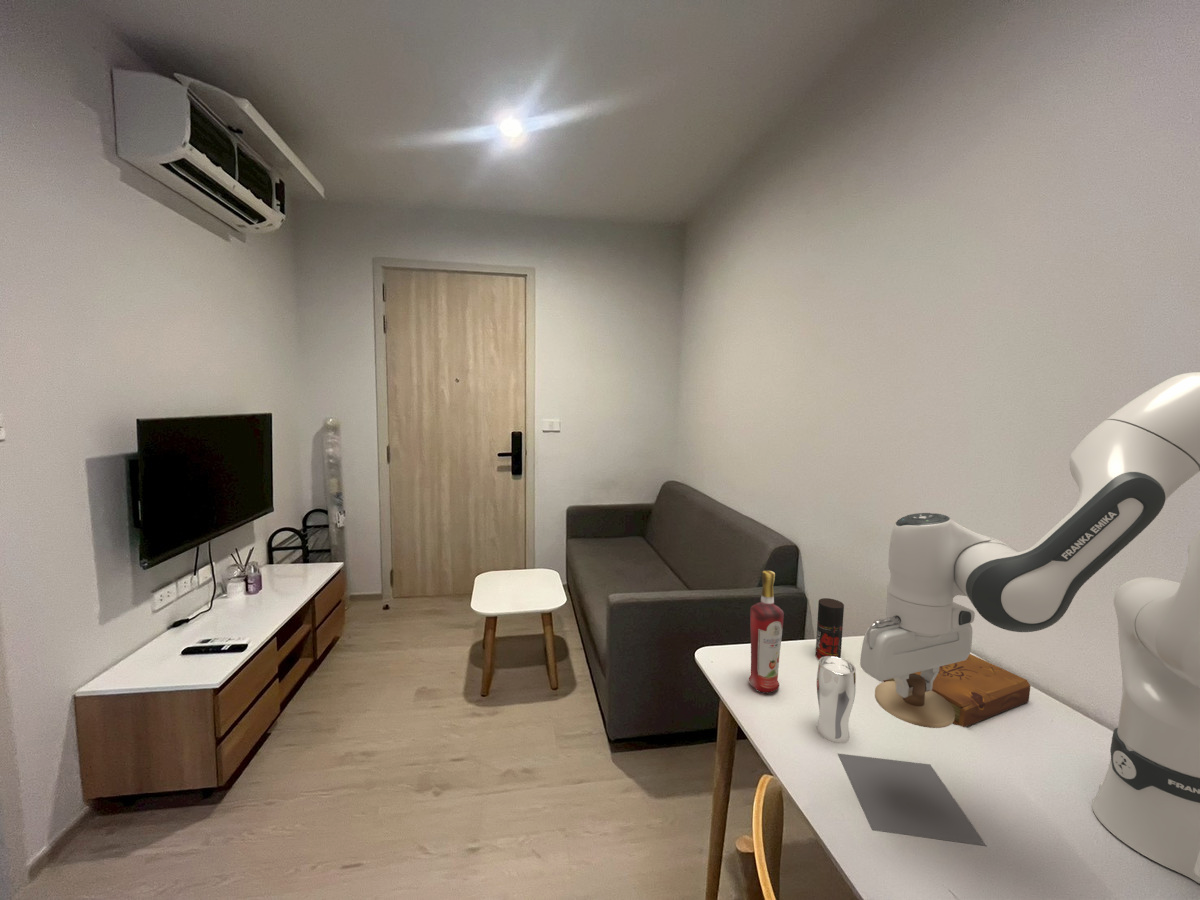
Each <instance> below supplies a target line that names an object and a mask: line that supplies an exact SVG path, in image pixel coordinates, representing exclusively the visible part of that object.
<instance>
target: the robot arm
mask: <svg viewBox="0 0 1200 900" xmlns="http://www.w3.org/2000/svg"><path fill="white" fill-rule="evenodd" d="M1069 469H1070V473H1071V475H1072V478H1073V480H1074V482H1075V483H1076V485H1077V487H1078V490H1079V496H1078V499H1077V502H1076V504H1075V506H1073V508H1072V510H1071V511H1069V512H1068V513H1067V514H1066V515H1065V516H1064V517H1063V518H1062V519H1061V520H1059V522H1057V524H1056V525H1054V526H1053V527H1052V528H1051V529H1050V530H1049V531H1048V532H1046V533H1045V534H1044V535H1043V536H1042V537H1041V538H1040V539H1039V540H1037V542H1036V543H1034V544H1033V545H1032V546H1031V547H1029V548H1027V549H1025V550H1022V551H1019V550H1017V549H1015V547H1013V546H1010V545H1009V544H1007V543H1005V542H1004V541H1002V540H1000V539H997V538H995V537H992V536H989V535H984V534H981V533H979V532H975V531H973V530H971V529H969V528H967V527H964V526H963V525H961V524H959V523H957V522H956V521H955V520H953V519H951V517H950V516H949V515H948V516H947V515H946V514H941V513H935V512H934V513H933V512H932V513H931V512H917V513H912V514H907V515H905V516H902V517H900V518H899V519H898V520H897V521H896V522H895V524H894V526H893V528H892V530H891V535H890V541H889V548H888V563H887V565H888V569H889V574H890V579H889V581H888V583H887V584H888V585H887V589H886V608H885V609H886V610H885V616H886V618H882V619H881V618H880V619H876V620H874V621H873V623H872V624H871V625H870V626H869V627H867V629H866V631H865V634H864V636H863V640H862V644H861V645H862V646H861V653H860V659H859V660H860V662H859V665H860V668H861V669H862V671H863V672H864V673H865V674H867V675H869V676H870V677H872V678H873V679H875V680H876V681H879V682H883V681H884V680H888V679H892V678H894V680H895V682H896V692H897V693H898V694H899V695H900V696H902V697H903V698H906V697H909V696H912V694H913V693H912V691H913V687H912V686H910V685H909V684H908V683H907V681H906V679H909V674H912V673H916V672H920V671H921V674H920V676H922V677H923V678H924V679H925V680H926V682H925V692H928V691H932V687H933V681H934V679H935V678H936V676H937V674H938V672H939V667H940V666H944V665H948V664H952V663H956V662H960V661H964V660H966V659H967V658H968V656H969V654H971V652H972V646H973V645H972V644H973V626H972V623H974V622H975V621H974V620H975V617H976V613H975V611H974V610H973V609H971V608H968V607H966V606H965V605H961V604H959V603H956V602H954V598H955V597H957V596H963V597H967V598H968V599H969V601H970V603H971V604H972V605H973V607H974V608H975V610H976V611H977V612H978V614H979V615H980V616H981V617H982V619H984V620H985V621H987V622H988V623H989V624H991V625H993V626H995V627H997V628H1000V629H1003V630H1005V631H1009V632H1013V633H1030V632H1031V633H1033V632H1039V631H1041V630H1044V629H1047V628H1050V627H1051V626H1054V625H1055V624H1057V622H1059V620H1061V619H1062V618H1063V617H1064V615H1065V614H1066V612H1067V611H1068V609H1069V607H1070V605H1071V604H1072V601H1073V600H1074V598H1075V596H1076V594H1077V593H1078V591H1080V589H1081V588H1082V587H1083V586H1084V584H1085V583H1087V581H1089V580H1090V579H1091V578H1092V577H1093V576H1094V575H1096V574H1097V572H1099V571H1100V570H1101V569H1103V568H1104V566H1106V565H1107V564H1108V563H1109V562H1110V561H1111V560H1112V559H1113V558H1114V557H1116V556H1117V555H1118V553H1120V552H1121V551H1122V550H1123V549H1124V548H1126V547H1127V546H1128V545H1129V544H1130V543H1131V542H1133V541H1134V539H1135V538H1137V537H1138V536H1139V535H1140V534H1141V533H1142V532H1144V530H1145V529H1146V528H1147V527H1148V526H1149V525H1150V524H1151V523H1152V522H1153V521H1155V519H1156V518H1157V516H1158V515H1159V514H1160V513H1161V512H1162V510H1163V508H1164V506H1165V503H1166V501H1167V500H1168V498H1170V497H1171V496H1172V495H1173V494H1174V493H1175V491H1177V490H1178V489H1179V488H1180V487H1181V486H1182V485H1184V484H1185V483H1187V482H1188V481H1189V480H1191V478H1193V477H1194V476H1195V475H1197V474H1198V473H1199V472H1200V371H1199V372H1198V371H1195V372H1193V371H1192V372H1185V373H1181V374H1177V375H1174V376H1171V377H1169V378H1168V379H1166V380H1164V381H1162V382H1160V383H1158V384H1157V385H1154V386H1153V387H1151V388H1150V389H1148V390H1146V391H1144V392H1142V393H1141V394H1140V395H1138V396H1137V397H1135V398H1133V399H1132V400H1131V401H1129V402H1128V403H1126V404H1125V405H1123V406H1122V407H1121V408H1119V409H1118V410H1116V411H1115V412H1114V413H1112V414H1111V415H1110V416H1108V417H1107V418H1106V419H1104V421H1102V422H1101V423H1100V424H1098V426H1095V428H1093V429H1091V431H1090V432H1089V433H1088V434H1087V435H1086V436H1084V438H1083V439H1082V440H1081V441H1080V442H1079V443H1078V445H1076V447H1075V448H1074V449H1073V451H1071V453H1070V456H1069ZM1187 546H1188V547H1187V553H1188V557H1187V558H1188V560H1187V564H1186V568H1185V571H1184V574H1183V577H1182V579H1181V581H1180V582H1178V581H1174V580H1170V579H1166V578H1161V577H1151V576H1143V577H1137V578H1133V579H1131V580H1128V581H1126V582H1124V583H1123V584H1121V585H1120V586H1119V587H1118V588H1117V590H1116V591H1115V592H1114V596H1113V606H1114V609H1115V614H1116V618H1117V628H1118V629H1117V630H1118V647H1119V656H1120V657H1119V660H1120V666H1121V667H1120V668H1121V677H1122V679H1121V680H1122V689H1121V690H1122V691H1121V699H1120V707H1119V715H1118V724H1117V727H1116V728H1114V730H1113V732H1112V737H1111V743H1110V748H1109V750H1110V752H1109V753H1110V761H1109V763H1108V768H1107V770H1106V773H1105V777H1104V779H1103V780H1102V781H1101V782H1100V784H1099V787H1098V788H1099V789H1098V792H1097V794H1096V796H1095V797H1094V798H1093V800H1092V803H1091V807H1092V811H1093V813H1094V814H1095V816H1096V818H1097V819H1098V821H1099V822H1100V823H1101V824H1102V825H1103V826H1104V827H1105V828H1106V829H1107V830H1108V831H1109V832H1111V833H1112V834H1113V835H1114V836H1115V837H1116V838H1117V839H1118V840H1120V841H1121V842H1123V843H1124V844H1126V845H1127V846H1128V847H1130V848H1131V849H1132V850H1135V851H1136V852H1137V853H1139V854H1141V855H1143V856H1145V857H1147V858H1148V859H1150V860H1152V861H1153V862H1156V863H1157V864H1160V865H1161V866H1163V867H1166V868H1168V869H1170V870H1172V871H1174V872H1177V873H1178V874H1180V875H1183V876H1184V877H1185V876H1186V877H1188V878H1189V879H1191V880H1193V881H1194V882H1196V883H1198V884H1199V885H1200V529H1199V530H1198V531H1197V533H1196V534H1195V535H1194V536H1193V538H1191V540H1190V542H1189V543H1188V545H1187Z"/></svg>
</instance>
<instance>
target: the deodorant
mask: <svg viewBox="0 0 1200 900" xmlns="http://www.w3.org/2000/svg"><path fill="white" fill-rule="evenodd" d="M817 604H818V608H817V621H816V622H817V625H816V626H817V627H816V643H815V657H816V659H817V660H819V659H820V658H822V657H824V656H834V657H839V658H842V645H843V644H842V643H843V630H844V629H843V628H844V627H843V626H844V615H845V614H844V611H845V604H844V603H843V602H842V601H840V600H838V599H834V598H829V597H828V598H826V597H825V598H820V599H818V603H817Z"/></svg>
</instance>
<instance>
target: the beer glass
mask: <svg viewBox="0 0 1200 900" xmlns="http://www.w3.org/2000/svg"><path fill="white" fill-rule="evenodd" d="M816 674H817V675H816V694H817V701H818V709H819V711H818V712H819V713H818V714H819V716H818V720H817V723H816V731H817V733H818V735H819V736H821V737H822V738H823V739H825V740H827V741H830V742H832V743H836V744H845V743H848V742H849V741H850V739H851V735H850V730H849V729H850V728H849V722H850V717H851V713H852V709H853V706H854V703H855V696H856V690H857V688H856V685H857V682H856V681H857V680H856V679H857V677H856V667H855V665H854V664H853V663H852V662H851V661H848V660H847V659H844V658H842V657H841V658H839V657H834V656H824V657H822V658H820V659H818V667H817V673H816Z"/></svg>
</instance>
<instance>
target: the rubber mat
mask: <svg viewBox="0 0 1200 900" xmlns="http://www.w3.org/2000/svg"><path fill="white" fill-rule="evenodd" d="M837 755H838V757H839V760H840V762H841V764H842V767H843V769H844V771H845V773H846V775H847V778H848V780H849V783H850V784H851V786H852V788H853V791H854V793H855V796H856V798H857V800H858V801H859V804H860V806H861V809H862V811H863V813H864V815H865V817H866V819H867V822H868V824H869V827H870V828H871V831H876V832H882V833H888V834H889V833H891V834H896V835H904V836H905V835H906V836H910V837H911V836H912V837H919V838H925V839H933V840H939V841H947V842H954V843H961V844H966V845H967V844H968V845H975V846H980V847H981V846H982V847H987V844H986V843H985V841H984V840H983V838H982V837H981V836H980V834H979V833H978V831H977V829H976V828H975V827H974V825H973V824H972V822H971V821H970V819H969V817H967V815H966V814H965V812H964V811H963V810H962V808H961V807H960V805H959V803H958V802H957V801H956V799H955V798H954V797H953V794H951V792H950V790H949V789H948V787H946V785H945V783H944V782H943V781H942V779H941V778H940V776H939V775H938V773H937V772H936V771H935V769H934V767H933V766H932V764H930V763H924V762H923V763H921V762H914V761H905V760H897V759H888V758H877V757H872V756H871V757H870V756H863V755H856V754H855V755H853V754H846V753H837Z"/></svg>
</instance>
